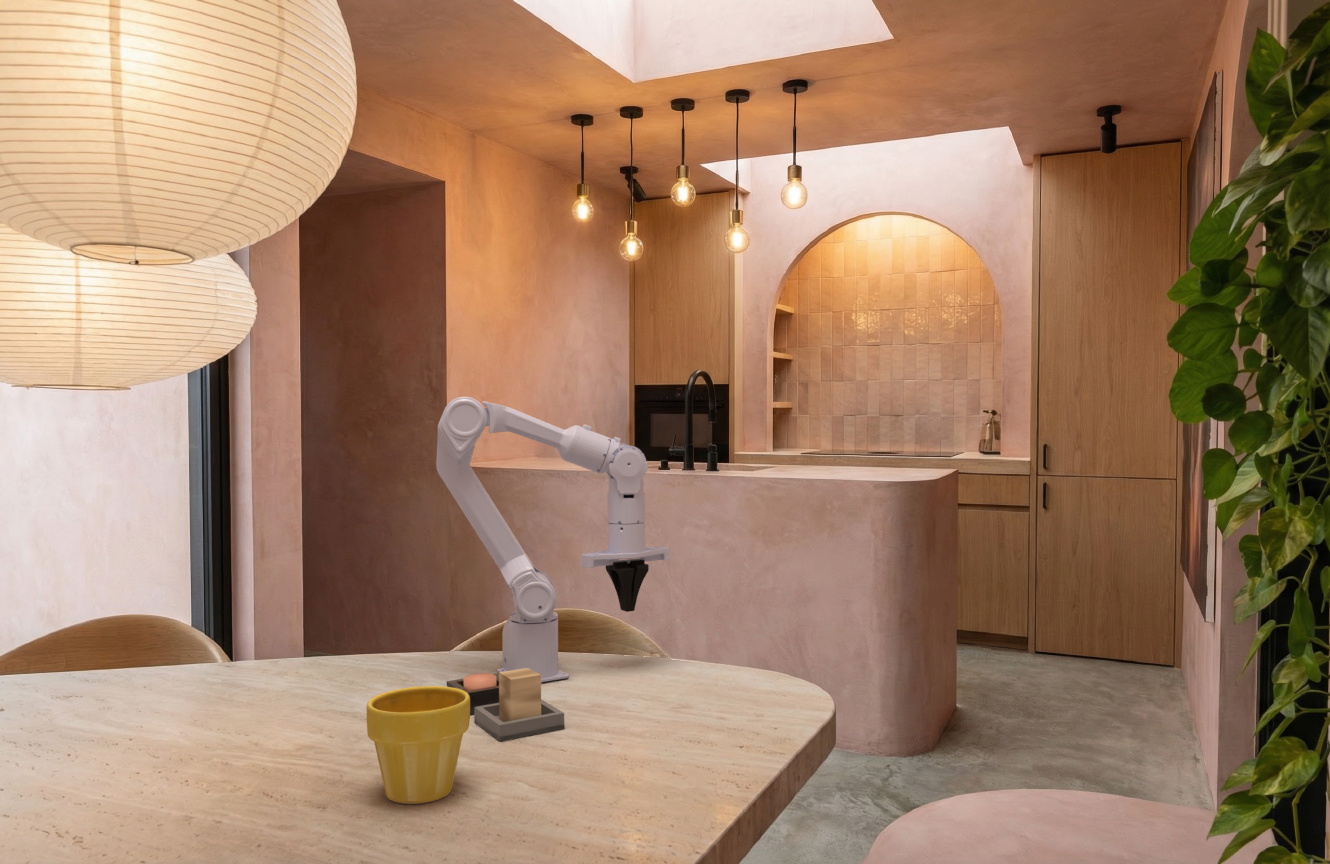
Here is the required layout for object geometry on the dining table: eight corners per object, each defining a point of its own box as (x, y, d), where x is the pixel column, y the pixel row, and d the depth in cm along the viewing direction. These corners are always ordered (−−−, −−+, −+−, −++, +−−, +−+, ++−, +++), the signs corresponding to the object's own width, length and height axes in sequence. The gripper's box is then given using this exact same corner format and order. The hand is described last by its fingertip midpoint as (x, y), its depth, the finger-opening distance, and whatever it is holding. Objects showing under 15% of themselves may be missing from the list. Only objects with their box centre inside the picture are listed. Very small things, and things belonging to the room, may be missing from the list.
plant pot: (430, 765, 103) (430, 678, 103) (491, 788, 96) (490, 695, 96) (347, 794, 95) (346, 700, 95) (406, 821, 88) (406, 720, 88)
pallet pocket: (474, 722, 118) (474, 706, 118) (536, 711, 122) (536, 696, 122) (499, 741, 111) (499, 725, 111) (564, 728, 115) (564, 712, 115)
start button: (459, 698, 126) (458, 676, 126) (489, 692, 128) (489, 671, 128) (470, 706, 122) (470, 683, 122) (501, 700, 125) (501, 678, 125)
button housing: (446, 702, 126) (446, 681, 126) (494, 694, 130) (494, 673, 130) (464, 716, 120) (464, 693, 120) (514, 707, 124) (514, 685, 124)
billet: (499, 719, 117) (499, 672, 117) (528, 713, 119) (527, 667, 119) (511, 727, 114) (511, 679, 114) (541, 721, 116) (540, 674, 116)
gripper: (653, 517, 149) (654, 600, 149) (572, 523, 142) (573, 611, 142) (676, 520, 143) (677, 607, 143) (593, 527, 135) (594, 619, 136)
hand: (627, 610), depth 142 cm, fingers closed
